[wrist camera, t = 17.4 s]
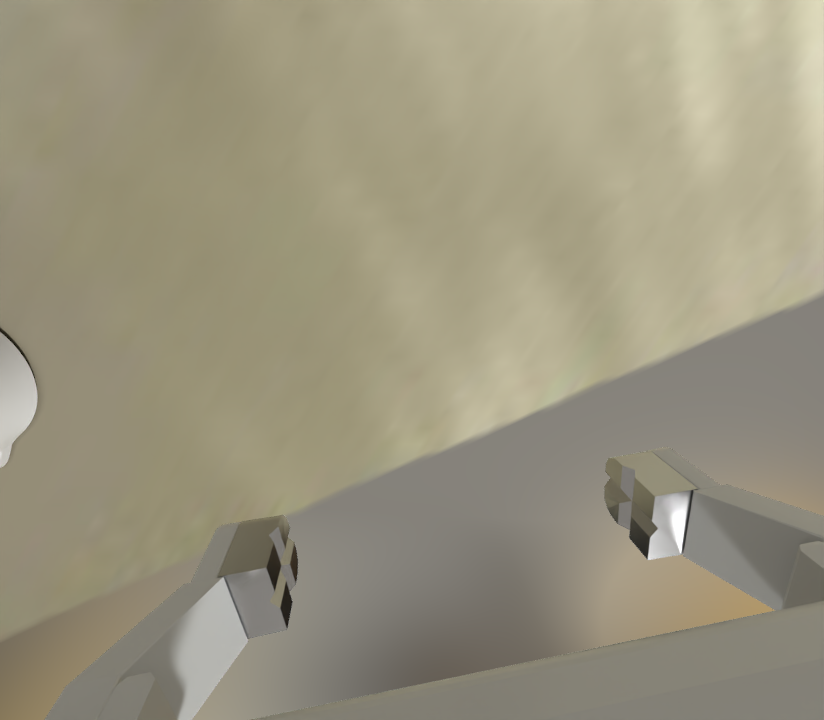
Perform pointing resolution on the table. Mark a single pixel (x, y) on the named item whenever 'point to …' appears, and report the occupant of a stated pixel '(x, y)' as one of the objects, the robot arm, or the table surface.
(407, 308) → the table surface
